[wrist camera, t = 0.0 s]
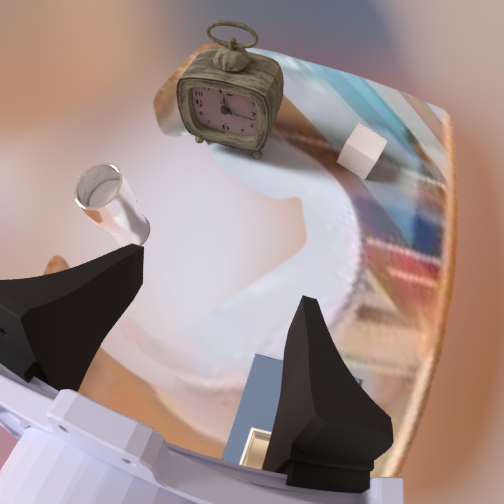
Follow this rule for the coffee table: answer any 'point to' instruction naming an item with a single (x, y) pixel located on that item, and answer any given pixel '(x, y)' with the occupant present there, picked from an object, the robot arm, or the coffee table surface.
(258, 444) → the maple base block
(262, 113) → the tabletop clock
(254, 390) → the board
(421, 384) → the coffee table surface
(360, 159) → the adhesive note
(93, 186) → the beer glass
